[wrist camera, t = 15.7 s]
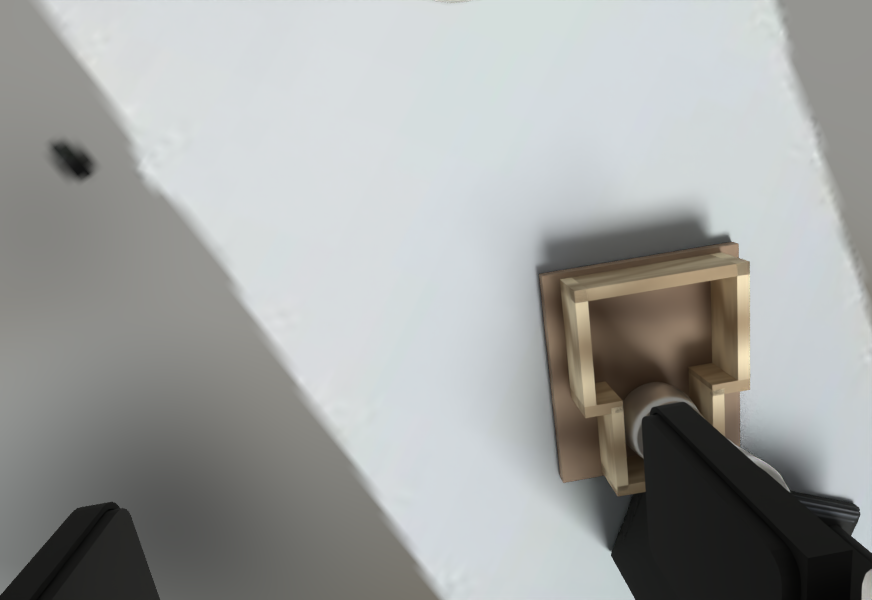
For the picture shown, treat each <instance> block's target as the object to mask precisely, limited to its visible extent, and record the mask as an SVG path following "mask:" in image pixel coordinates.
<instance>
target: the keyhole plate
mask: <svg viewBox="0 0 872 600" xmlns="http://www.w3.org/2000/svg"><path fill="white" fill-rule="evenodd" d="M539 281H540V290H541V300H542V309H543V318H544V328H545V337H546V347H547V356H548V366H549V375H550V385H551V394H552V403H553V413H554V422H555V432H556V441H557V451H558V460H559V470H560V477H561V479H562V481H563V483H565V482H571V481H577V480H582V479H588V478H594V477H599V476H605V477H606V479H607V480H608V482H609V484H610V485H611V487H612V488H613V490H614V491H615V493H616V495H617V496H618V497H619V496H625V495H630V494H636V493H642V492H646V489H645V473H644V459H643V458H642V457H640V456H639V455H638V454H637V453H636V452H634V451H633V450H632V449H631V448H630V447H629V446H628V445H627V443H626V441H625V427H624V413H623V401H624V400H625V398H626V397H627V395H628V394H629V393H630V392H631V391H633V390H634V389H636V388H637V387H639V386H642V385H644V384H647V383H651V382H662V383H666V384H669V385H671V386H673V387H676V388H678V389H680V390H681V391H683V392H684V393H685V394H686V395H687V396H688V397H689V398H690V399H691V400H692V402H693V403H694V404H695V406H696V407H697V409H698V411H699V412H700V414H701V415H702V416H703V417H704V418H705V419H706V420H707V421H708V422H709V423H710V424H711V425H712V426H713V427H714V428H716V429H717V430H718V431H719V432H720V433H721V434H722V435H723V436H725V437H726V438H727V439H728V440H730V441H731V442H732V443H734V444H735V445H737V446H738V447H740V391H745V390H750V262H749V261H746V260H743V259H740V258H739V244H738V243H734V242H728V243H722V244H716V245H710V246H704V247H698V248H692V249H686V250H680V251H674V252H668V253H662V254H656V255H650V256H644V257H638V258H631V259H625V260H619V261H613V262H607V263H601V264H595V265H589V266H583V267H577V268H571V269H565V270H559V271H553V272H547V273H541V274H539Z"/></svg>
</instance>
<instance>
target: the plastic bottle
mask: <svg viewBox="0 0 872 600" xmlns="http://www.w3.org/2000/svg"><path fill="white" fill-rule="evenodd" d="M678 402H685V403H687V404H688V405H690V406H691V407H692V408H693V409H694V410H695V411H696V412H697V413H699V414H700V412H699V411H698V409H697V407H696V406H695V404H694V403H693V402H692V400H691V399H690V398H689V397H688V396H687V395H686V394H685V393H684V392H683V391H681V390H680V389H678V388H676V387H673V386H671V385H669V384H666V383H662V382H651V383H647V384H644V385H642V386H639V387H637V388H636V389H634V390H633V391H631V392H630V393H629V394H628V395H627V397H626V398H625V400H624V401H623V413H624V427H625V441H626V443H627V445H628V446H629V447H630V448H631V449H632V450H633V451H634V452H636V453H637V454H638V455H639V456H640V457H642V458H643V459H644V456H643V440H642V418H643V417H645V416H650V411H651V408H652V407H655V406H661V405H666V404H672V403H678ZM700 415H701V414H700ZM701 416H702V415H701ZM702 417H703V416H702ZM703 418H704V417H703ZM704 419H705V418H704ZM705 420H706V419H705ZM729 441H730V440H729ZM730 442H731V441H730ZM731 443H732V442H731ZM733 444H734V443H733ZM734 445H735V444H734ZM735 446H736V447H737V448H738V449H739V450H740V451H742V452H743V453H744V454H745V455H746V456H747V457H748V458H750V459H751V460H752V461H753V462H754V463H755V464H756V465H757V466H759V467H760V468H762V469H763V470H765V471H766V472H767V473H768V474H769V475H770V476H772V477H773V478H774V479H775V480H776V481H777V482H778V483H780V484H781V485H782V486H783V487H784V488H785V489H786V490H788V491H789V492H790V490H789V488H788V487H787V485H786V483H785V482H784V480H783V478H782V476H781V475H780V474H779V473H778V472H777V471H776V470H775V469H774V468H773V467H771V466H770V465H768V464H767V463H766V462H764V461H762V460H761V459H759V458H757V457H755V456H754V455H752V454H750V453H749V452H747V451H745V450H743V449H742V448H740V447H738V446H737V445H735Z"/></svg>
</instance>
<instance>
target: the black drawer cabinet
mask: <svg viewBox="0 0 872 600" xmlns="http://www.w3.org/2000/svg"><path fill="white" fill-rule="evenodd" d="M790 493H791V494H792V495H793V496H794V497H795V498H797V499H798V500H799V501H800V502H801V503H802V504H803V505H805V506H806V507H807V508H808V509H809V510H810V511H811V512H813V513H814V514H815V515H816V516H817V517H818V518H819V519H821V520H822V521H823V522H824V523H825V524H826V525H827V526H828V527H830V528H831V529H832V530H833V531H834V532H835V533H836V534H838V535H839V536H840V537H841V538H842V539H843V540H844V541H846V542H847V543H848V544H849V545H850V546H851V547H852V548H853V549H855V550H856V551H857V552H858V553H859V554H860V555H861V556H863V557H864V558H865V559H866V560H867V561H868V562H869V563H871V564H872V553H871V552H869V551H868V550H867V549H866V548H865V547H864V546H862V545H861V544H860V543H859V542H858V541H856V540H855V539H854V538H853V537H852V536H851V535H852V532H853V530H854V528H855V526H856V524H857V522H858V519H859V517H860V512H859V511H860V509H859V507H857V506H856V505H855V504H852V503H848V502H843V501H838V500H833V499H827V498H822V497H816V496H811V495H807V494H801V493H796V492H794V491H790ZM611 556H612V558H613V560H614V562H615V564H616V565H617V567H618V569H619V571H620V572H621V575H622V576H623V578H624V580H625V582H626V583H627V585H628V587H629V589H630V591H631V593H632V595H633V596H634V598H635V600H679V599H678V597H677V595H676V594H675V592H674V591H673V589H672V587H671V586H670V584H669V583H668V581H667V580H666V578H665V576H664V575H663V573H662V572H661V570H660V568H659V567H658V565H657V564H656V562H655V560H654V558H653V555H652V552H651V549H650V545H649V538H648V522H647V505H646V492H642V493H636V494H634V495H633V497H632V499H631V502H630V506H629V508H628V511H627V514H626V516H625V518H624V522H623V524H622V526H621V529H620V531H619V533H618V537H617V540H616V542H615V545H614V548H613V550H612V553H611Z"/></svg>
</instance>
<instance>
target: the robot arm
mask: <svg viewBox="0 0 872 600" xmlns="http://www.w3.org/2000/svg"><path fill="white" fill-rule="evenodd" d="M434 1H439V2H447V3H458V2H468V1H471V0H434ZM642 440H643V456H644V473H645V489H646V505H647V522H648V538H649V545H650V549H651V552H652V555H653V558H654V560H655V562H656V564H657V565H658V567H659V568H660V570H661V572H662V573H663V575H664V576H665V578H666V580H667V581H668V583H669V584H670V586H671V587H672V589H673V591H674V592H675V594H676V595H677V597H678V599H679V600H872V564H871V563H869V562H868V561H867V560H866V559H865V558H864V557H863V556H861V555H860V554H859V553H858V552H857V551H856V550H855V549H853V548H852V547H851V546H850V545H849V544H848V543H847V542H846V541H844V540H843V539H842V538H841V537H840V536H839V535H838V534H836V533H835V532H834V531H833V530H832V529H831V528H830V527H828V526H827V525H826V524H825V523H824V522H823V521H822V520H821V519H819V518H818V517H817V516H816V515H815V514H814V513H813V512H811V511H810V510H809V509H808V508H807V507H806V506H805V505H803V504H802V503H801V502H800V501H799V500H798V499H797V498H795V497H794V496H793V495H792V494H791V493H790V492H789V491H788V490H786V489H785V488H784V487H783V486H782V485H781V484H780V483H778V482H777V481H776V480H775V479H774V478H773V477H772V476H770V475H769V474H768V473H767V472H766V471H765V470H763V469H762V468H760V467H759V466H757V465H756V464H755V463H754V462H753V461H752V460H751V459H750V458H748V457H747V456H746V455H745V454H744V453H743V452H742V451H740V450H739V449H738V448H737V447H736V446H735V445H734V444H733V443H731V442H730V441H729V440H728V439H727V438H726V437H725V436H723V435H722V434H721V433H720V432H719V431H718V430H717V429H716V428H714V427H713V426H712V425H711V424H710V423H709V422H708V421H707V420H705V419H704V418H703V417H702V416H701V415H700V414H699V413H697V412H696V411H695V410H694V409H693V408H692V407H691V406H690V405H688V404H687V403H685V402H678V403H672V404H666V405H661V406H655V407H652V408H651V411H650V416H645V417H643V418H642ZM0 600H160V598H159V595H158V593H157V590H156V587H155V584H154V581H153V578H152V575H151V573H150V570H149V567H148V564H147V561H146V558H145V555H144V552H143V550H142V547H141V544H140V541H139V538H138V535H137V532H136V530H135V527H134V524H133V521H132V518H131V515H130V513H129V512H128V511H127V509H123V508H122V509H120V508H119V506H118V505H117V504H116V503H113V502H108V503H103V504H97V505H91V506H86V507H80V508H77V509H76V510H74V511H73V512H72V513H71V514H70V516H69V517H68V518H67V519H66V520H65V521H64V523H63V524H62V525H61V526H60V527H59V528H58V530H57V531H56V532H55V533H54V534H53V535H52V536H51V538H50V539H49V540H48V541H47V542H46V543H45V545H44V546H43V547H42V548H41V549H40V550H39V551H38V553H37V554H36V555H35V556H34V557H33V558H32V559H31V561H30V562H29V563H28V564H27V565H26V566H25V568H24V569H23V570H22V571H21V572H20V573H19V575H18V576H17V577H16V578H15V579H14V580H13V581H12V583H11V584H10V585H9V586H8V587H7V588H6V590H5V591H4V592H3V593H2V594H1V595H0Z"/></svg>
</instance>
